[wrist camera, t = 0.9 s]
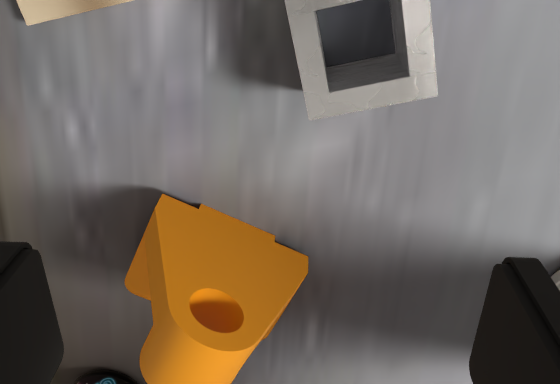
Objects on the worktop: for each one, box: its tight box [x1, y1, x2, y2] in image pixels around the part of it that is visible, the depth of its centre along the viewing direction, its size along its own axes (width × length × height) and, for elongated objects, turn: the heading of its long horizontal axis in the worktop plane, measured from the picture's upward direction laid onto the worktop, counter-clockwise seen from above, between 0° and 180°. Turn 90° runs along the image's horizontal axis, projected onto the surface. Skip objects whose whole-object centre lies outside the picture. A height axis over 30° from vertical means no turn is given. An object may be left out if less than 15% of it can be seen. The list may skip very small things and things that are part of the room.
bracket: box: [125, 194, 308, 384], centre depth 32 cm, size 11×7×12 cm, turn 64°
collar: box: [285, 0, 438, 121], centre depth 27 cm, size 6×6×5 cm
